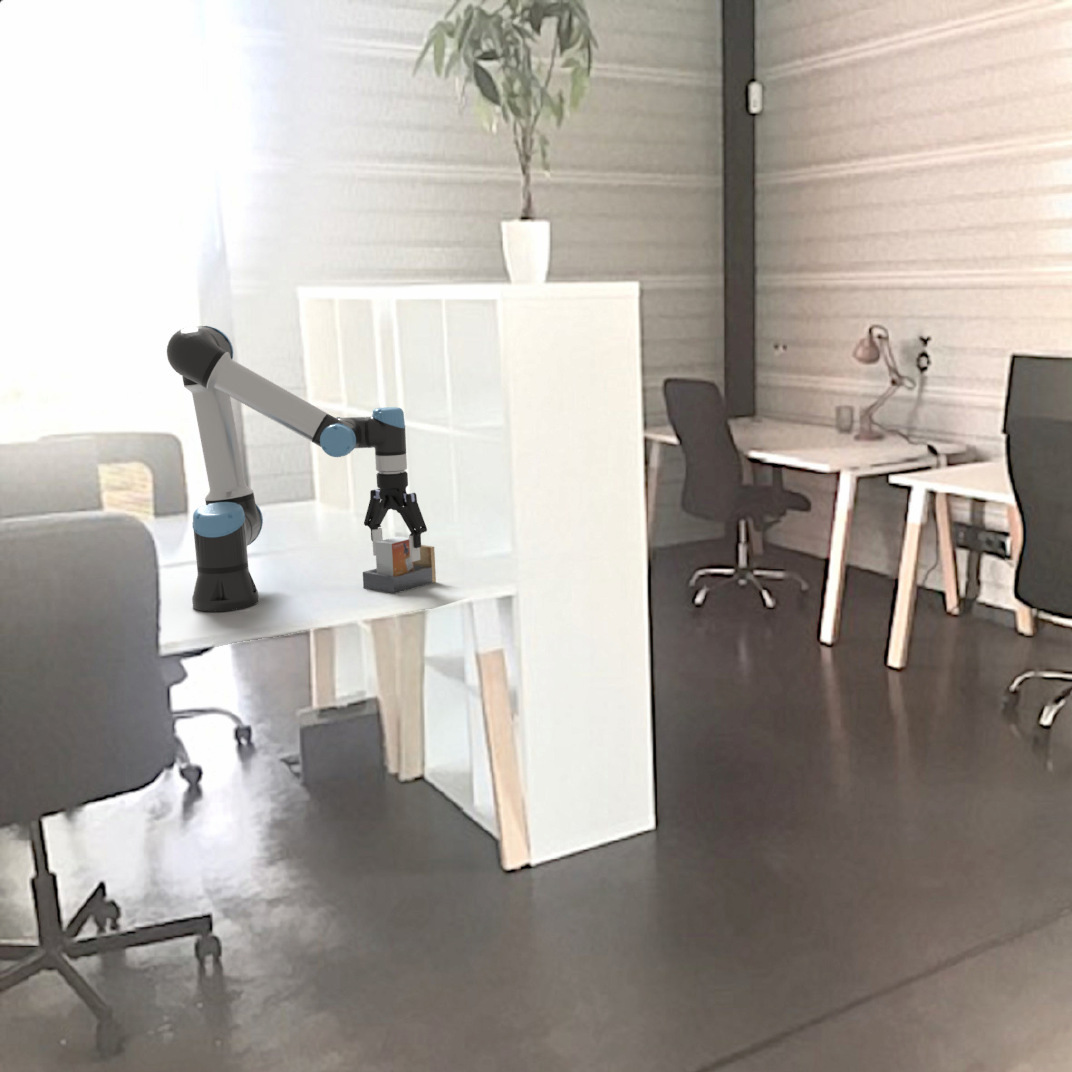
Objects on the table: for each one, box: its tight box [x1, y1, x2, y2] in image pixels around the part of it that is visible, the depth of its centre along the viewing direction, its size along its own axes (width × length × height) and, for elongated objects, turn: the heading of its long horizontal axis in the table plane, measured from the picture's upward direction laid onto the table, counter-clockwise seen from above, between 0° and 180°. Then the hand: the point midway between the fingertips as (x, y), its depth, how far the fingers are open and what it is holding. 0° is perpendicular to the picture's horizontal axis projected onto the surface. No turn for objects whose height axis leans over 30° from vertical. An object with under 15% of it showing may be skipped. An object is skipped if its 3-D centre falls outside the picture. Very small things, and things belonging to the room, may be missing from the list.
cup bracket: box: [362, 544, 437, 595], centre depth 292 cm, size 11×14×9 cm
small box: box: [375, 536, 414, 576], centre depth 292 cm, size 8×6×10 cm
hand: (396, 557), depth 291 cm, fingers open, 12 cm apart
